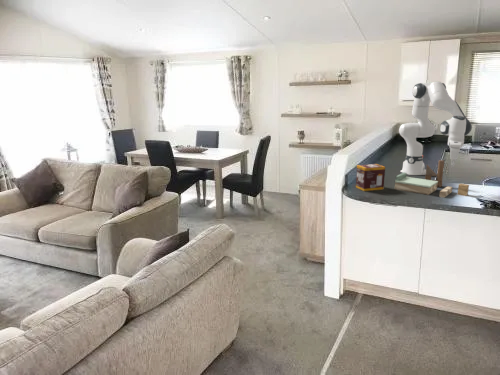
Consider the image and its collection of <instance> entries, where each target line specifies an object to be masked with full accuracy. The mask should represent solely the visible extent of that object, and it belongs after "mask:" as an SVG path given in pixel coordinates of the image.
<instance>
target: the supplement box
mask: <svg viewBox="0 0 500 375" xmlns="http://www.w3.org/2000/svg"><path fill="white" fill-rule="evenodd" d="M355 175H356V177H355V179H356V180H355V188H356V189H358V190H361V191H363V192H369V191H381V190H384V188H385V176H386V166H383V165H381V164H378V163H371V164H370V163H369V164H357V165H356V174H355Z"/></svg>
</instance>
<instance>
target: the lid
mask: <svg viewBox="0 0 500 375" xmlns="http://www.w3.org/2000/svg"><path fill="white" fill-rule="evenodd" d="M407 175H408V174H407V173H403V172H400V174H397V175H396V176H395V180H394V183H403V184H409V185H415V186H422V187H428V188H430V187H432V186H434V185H435V184H437V183H438V181H432V180H433V179H431V180H426V179H425V178H417V177H413V176H412V177H409V176H407Z"/></svg>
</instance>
